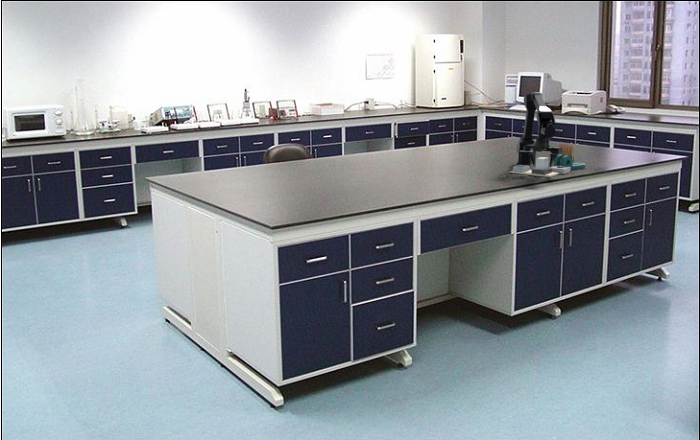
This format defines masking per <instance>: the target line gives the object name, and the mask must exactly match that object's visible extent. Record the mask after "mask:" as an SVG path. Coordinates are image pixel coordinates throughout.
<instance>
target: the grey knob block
mask: <svg viewBox="0 0 700 440" xmlns="http://www.w3.org/2000/svg"><path fill="white" fill-rule="evenodd" d="M550 168H552V172H556V173H559V174H560V175H565V174H568V173H571V171H572V170H571V167H564V166H554V165H553V166H551V167H550ZM559 174H558V175H559Z"/></svg>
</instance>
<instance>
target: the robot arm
mask: <svg viewBox="0 0 700 440" xmlns="http://www.w3.org/2000/svg"><path fill="white" fill-rule="evenodd" d="M545 102H546V101H545V100H544V98H543V93H542V92H538V91H537V92H532V93H529V94H527V93H526V95H524V96H523V103H524V104H523V105H524V107H525V109H526V111H525V120H524V126H523V127H524V128H523V134H522V135H521V137H520V138H519V142H518V143H517V145H516V153H517V154H518V160H517V162H516V164H517V165H525V166H529V165H531V164H532V166H536V157H537V156H536V155H537V152H538V153H540V152H550V153H549V156H550V157H549V168H551V167H553V165H554V160H555V158H556V157H557V155H559V154H560V153H562V151H563V149H562V147H559V146H553V147H551V145H550V140H551V139H552V138H553V137H555V135H556V134H557V131H556V129H555V127H554V126H555V123H556V118H555V116H554V113H553V111H552V110H551V108H550V107H547V105H546V103H545ZM536 112H537V113H536ZM535 113H536V115H535ZM535 118H536V121H537V124H538V127H537V128H538V130H537V137H536V140H534V138H533V130H534V125H535V124H534V123H535Z"/></svg>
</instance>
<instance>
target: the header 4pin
mask: <svg viewBox="0 0 700 440" xmlns="http://www.w3.org/2000/svg"><path fill="white" fill-rule="evenodd" d="M531 170H532V173H533V174H542V175H545V174H548V173H551V172H552V168H551V167H548V169H546V170H538V169H536V167H533V168H532V169H531Z"/></svg>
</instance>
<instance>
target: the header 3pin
mask: <svg viewBox="0 0 700 440" xmlns="http://www.w3.org/2000/svg"><path fill="white" fill-rule="evenodd" d="M528 170H531V167H530V165H526V164H517V165H514V166H513V167H512V171H519V172H525V171H528Z"/></svg>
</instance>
